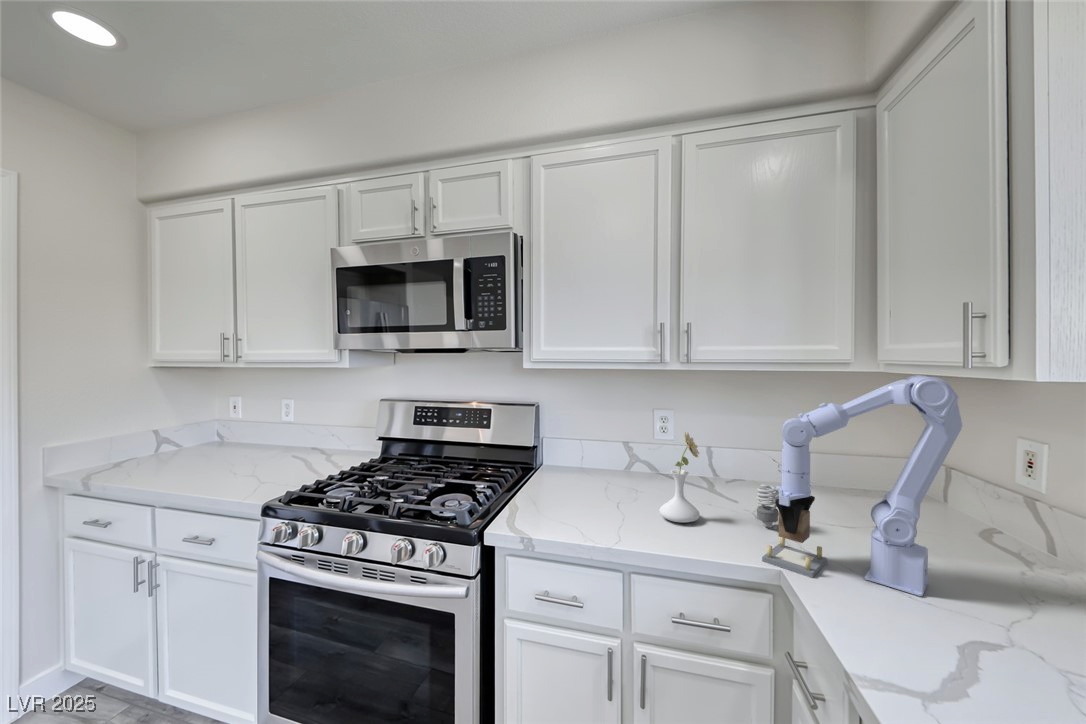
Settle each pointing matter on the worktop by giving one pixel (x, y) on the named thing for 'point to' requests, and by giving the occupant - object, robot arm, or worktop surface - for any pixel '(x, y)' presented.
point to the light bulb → (767, 512)
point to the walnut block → (802, 529)
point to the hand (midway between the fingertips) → (794, 529)
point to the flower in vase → (681, 491)
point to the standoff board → (795, 559)
